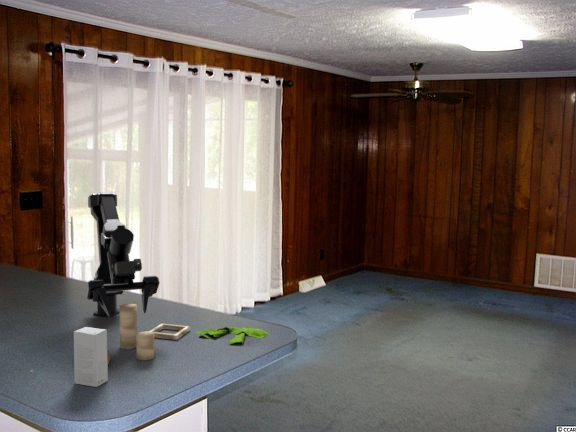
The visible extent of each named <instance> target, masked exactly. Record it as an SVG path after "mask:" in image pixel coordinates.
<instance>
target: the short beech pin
mask: <svg viewBox="0 0 576 432" xmlns="http://www.w3.org/2000/svg"><path fill="white" fill-rule="evenodd" d="M149 331H150V330H149ZM149 331H147V330H146V331H140V332H137V334H136V345H137V347H136V359H137V360H138V361H150V360H153V359H155V357H156V356H155V355H156V352H155V337H154V333H153V332H149Z"/></svg>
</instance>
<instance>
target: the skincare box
mask: <svg viewBox="0 0 576 432" xmlns="http://www.w3.org/2000/svg"><path fill="white" fill-rule="evenodd" d="M107 350H108V330H107V329H105V328H98V327H97V328H95V327H90V326H89V327H88V326H84V327H82V328H79V329H76V330H74V331H73V360H74V361H73V363H74V365H73V367H74V369H73V370H74V384H77V385H82V386H87V387H94V388H98V387H99V386H101V385H102V384H104V383H106V382H108V381H109V380H108V379H109V376H108V373H109V371H108V370H109V369H108V368H109V367H108V365H109V364H108V365H107Z"/></svg>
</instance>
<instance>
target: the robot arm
mask: <svg viewBox="0 0 576 432" xmlns="http://www.w3.org/2000/svg"><path fill="white" fill-rule="evenodd" d="M87 204H88V205H87V206H88V208H90V214H91V216H92V218H93V219H94V220H95V221H96V231H97V232H96V233H97V244H98V245H97V246H98V258H99V259H98V260H99V266H98V268H97V269H96V272H95V274H94V275H95V276H94V277H93V279H92V280H88V282H87V284H86V285H87V286H86V299H87V300H92V302H96V305H97V306H96V309H97V310H96V311H94V312H93V313H92V314H93V315H95V316H96V315H97V316H106V317H108V318H110V317H113V316H115V315H116V314H120V308H118V295H123V294H124V292H125V291H133V290H136V291H137V290H141V293H142V294H141V303H142V304H141V305H142V310H143V313H144V314H146V312H147V310H148V309H147V307H148V302H149V298H150V297H152V296H153V295H156V294H157V292H158V290H159V287H160V279H159V277H158V276H157V275H146V276H144V275H143V278H142V281H135V282H134V280H136V279H135V278H136V272H141V271H142V269H143V264H142V259H141V258H134V259H133V260H130V256H129V254H130V253H131V251H132V246H133V242H134V237H135V235H134V233H133V231H131V230H130V229H129V228H127V227H126V225H125V224H124V223H122V222H121V221H120V218H119V215H118V214H119V213H118V209H117V207H118V195H117V194H115V193H114V192H108V191H107V192H97V193H96V192H93V193H92V194H90V195H88V197H87Z"/></svg>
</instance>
